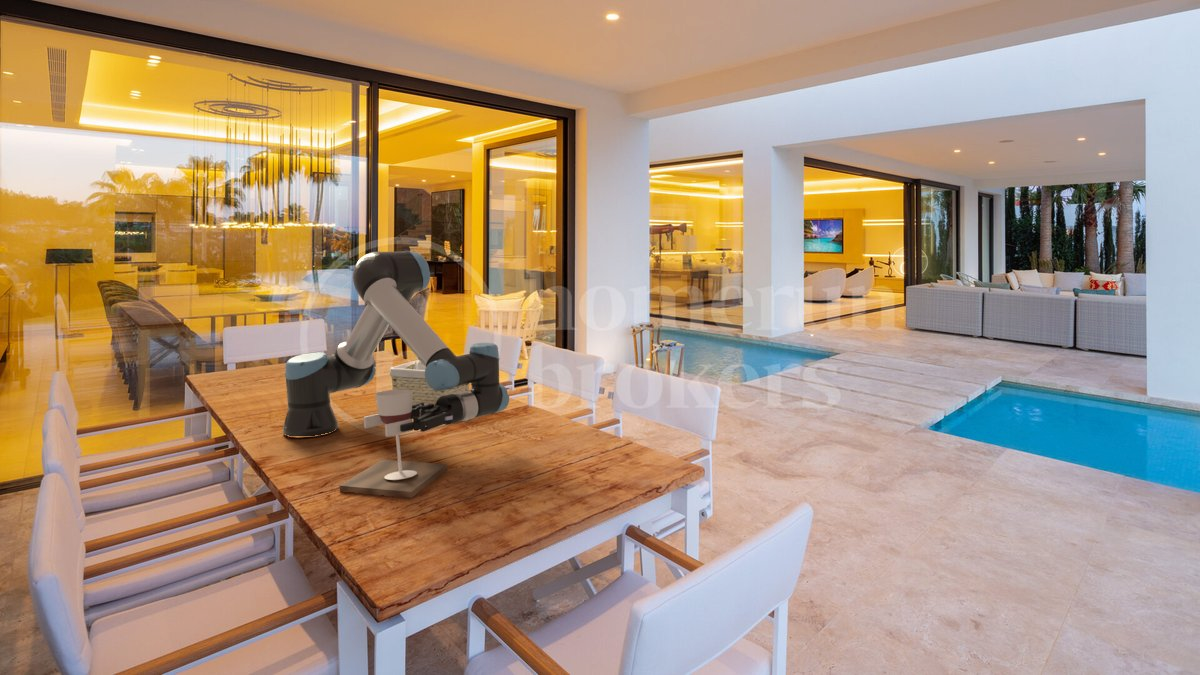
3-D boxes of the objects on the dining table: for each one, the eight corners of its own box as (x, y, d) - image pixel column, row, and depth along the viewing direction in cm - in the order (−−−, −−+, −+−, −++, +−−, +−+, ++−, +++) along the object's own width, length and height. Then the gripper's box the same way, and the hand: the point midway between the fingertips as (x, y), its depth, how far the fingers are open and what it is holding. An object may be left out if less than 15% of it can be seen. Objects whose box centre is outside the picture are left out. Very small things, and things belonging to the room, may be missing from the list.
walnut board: (339, 491, 144) (339, 485, 144) (382, 464, 161) (381, 459, 161) (411, 498, 140) (411, 491, 140) (446, 470, 158) (446, 464, 158)
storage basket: (389, 408, 217) (387, 366, 215) (419, 397, 232) (417, 358, 230) (446, 415, 209) (445, 372, 206) (473, 403, 223) (472, 363, 221)
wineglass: (402, 468, 155) (396, 388, 154) (426, 472, 150) (419, 390, 149) (375, 477, 149) (367, 394, 147) (398, 482, 144) (391, 396, 142)
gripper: (482, 430, 155) (400, 452, 139) (432, 414, 170) (353, 432, 153) (481, 400, 154) (399, 419, 138) (431, 387, 169) (351, 402, 152)
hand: (375, 426), depth 145 cm, fingers open, 9 cm apart
